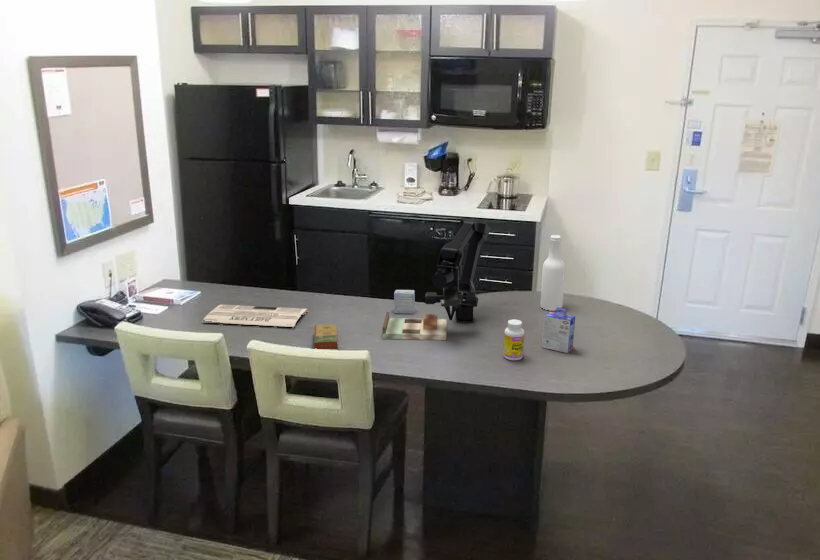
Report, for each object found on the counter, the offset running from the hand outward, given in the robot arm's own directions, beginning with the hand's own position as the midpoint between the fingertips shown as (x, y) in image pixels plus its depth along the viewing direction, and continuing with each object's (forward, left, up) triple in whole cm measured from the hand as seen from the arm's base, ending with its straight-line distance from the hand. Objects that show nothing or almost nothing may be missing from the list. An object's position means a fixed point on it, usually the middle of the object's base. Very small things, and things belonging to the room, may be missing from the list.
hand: (450, 320), depth 247 cm
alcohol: (-40, -26, -5) cm, 49 cm away
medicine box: (+19, -19, -5) cm, 27 cm away
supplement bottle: (-21, +21, -5) cm, 30 cm away
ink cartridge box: (-37, +13, -5) cm, 40 cm away
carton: (+45, +12, -5) cm, 46 cm away
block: (+8, 0, -3) cm, 8 cm away
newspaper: (+76, -10, -6) cm, 77 cm away
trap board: (+13, 0, -5) cm, 14 cm away
